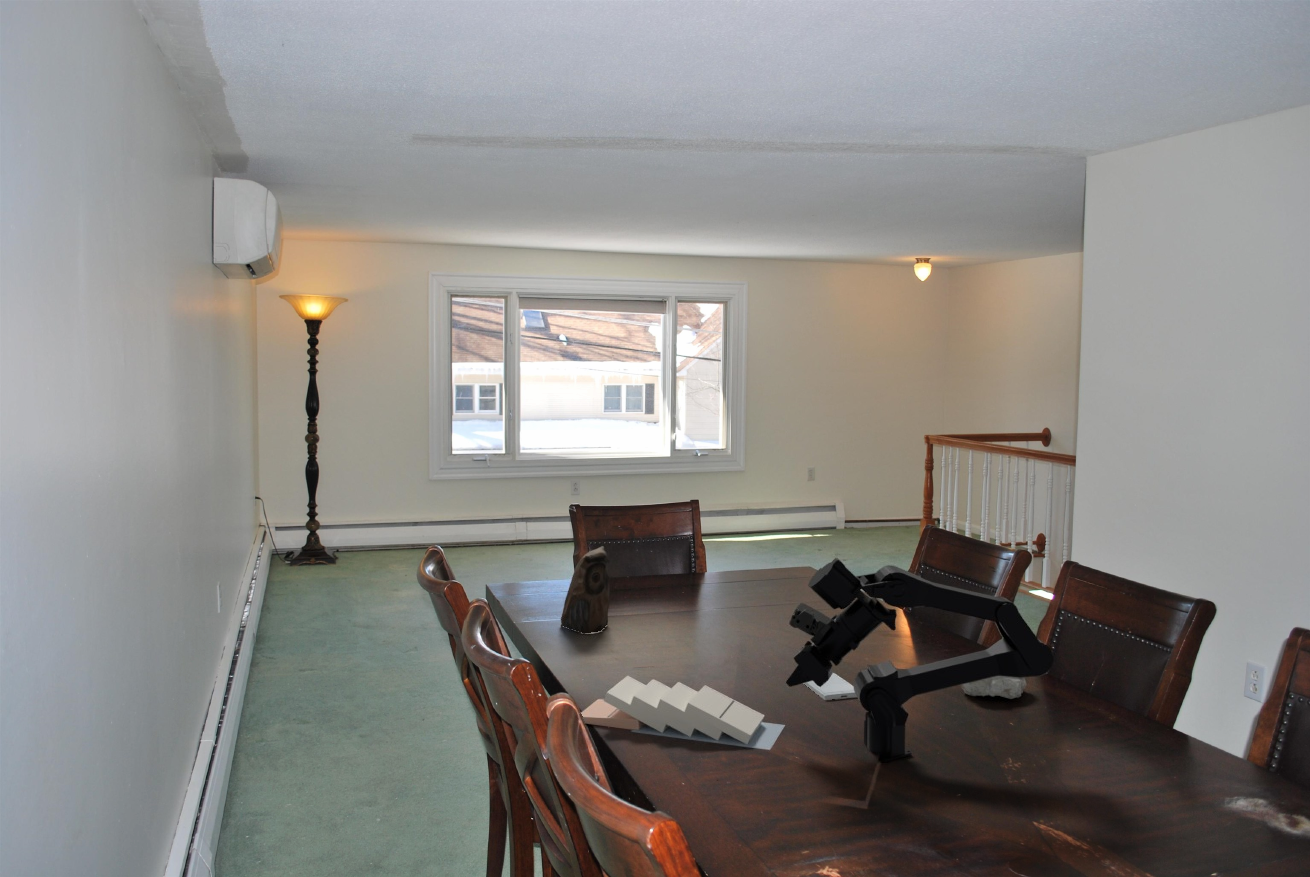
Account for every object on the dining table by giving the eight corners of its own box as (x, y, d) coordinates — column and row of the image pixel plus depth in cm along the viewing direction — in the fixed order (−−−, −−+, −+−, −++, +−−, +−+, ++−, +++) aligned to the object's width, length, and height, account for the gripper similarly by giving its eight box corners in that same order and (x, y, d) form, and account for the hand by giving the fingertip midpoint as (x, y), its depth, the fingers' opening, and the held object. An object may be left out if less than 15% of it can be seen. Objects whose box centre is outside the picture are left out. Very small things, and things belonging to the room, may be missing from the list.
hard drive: (798, 676, 198) (824, 694, 186) (835, 672, 200) (863, 690, 188) (798, 683, 198) (824, 703, 186) (835, 680, 200) (863, 699, 188)
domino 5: (764, 715, 171) (704, 684, 174) (750, 735, 161) (687, 702, 165) (761, 724, 171) (701, 693, 175) (747, 744, 162) (684, 711, 165)
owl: (604, 620, 248) (604, 543, 246) (624, 631, 236) (624, 551, 235) (559, 625, 242) (558, 547, 241) (577, 638, 231) (576, 556, 229)
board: (785, 729, 171) (785, 725, 171) (769, 754, 159) (769, 749, 159) (654, 713, 179) (654, 708, 179) (630, 735, 168) (630, 731, 168)
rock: (988, 695, 180) (975, 643, 185) (954, 707, 187) (942, 657, 192) (1043, 698, 187) (1029, 647, 191) (1008, 710, 194) (995, 661, 199)
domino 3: (710, 708, 174) (653, 678, 178) (694, 727, 165) (633, 695, 168) (707, 717, 174) (649, 687, 178) (690, 737, 165) (630, 704, 169)
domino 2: (683, 705, 176) (627, 675, 179) (665, 723, 167) (606, 692, 170) (680, 713, 176) (624, 684, 180) (662, 732, 167) (603, 701, 170)
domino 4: (736, 712, 172) (678, 681, 176) (721, 731, 163) (660, 698, 167) (733, 720, 173) (674, 690, 176) (717, 740, 163) (656, 708, 167)
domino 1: (657, 701, 178) (598, 698, 182) (638, 719, 168) (576, 716, 172) (658, 711, 178) (599, 708, 182) (638, 729, 168) (577, 726, 172)
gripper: (829, 579, 170) (769, 634, 174) (806, 602, 152) (740, 664, 157) (874, 626, 167) (811, 681, 172) (856, 655, 150) (787, 716, 155)
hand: (788, 684), depth 164 cm, fingers closed
